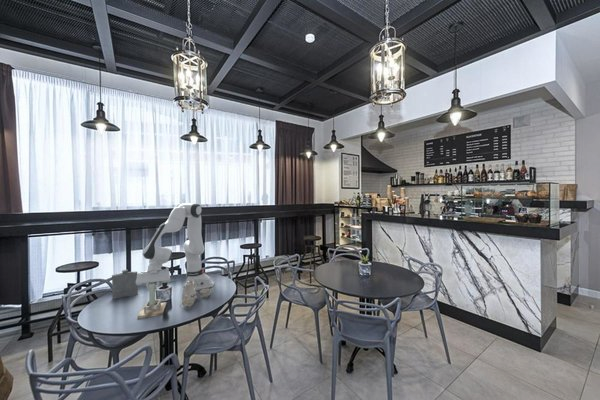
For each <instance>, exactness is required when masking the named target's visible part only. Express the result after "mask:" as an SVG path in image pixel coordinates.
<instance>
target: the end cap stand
mask: <svg viewBox="0 0 600 400" xmlns="http://www.w3.org/2000/svg"><path fill="white" fill-rule="evenodd" d="M166 307H167V302H165V301H164V302H162V299H161V298H159V299H155V305H152V306H149V300H147V301H146V303H145V305H143V306H142V308H141V309H140V312H139V313H138V314H137V319H144V318H150V317H156V316H163V314H164V312H165V309H166Z"/></svg>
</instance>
